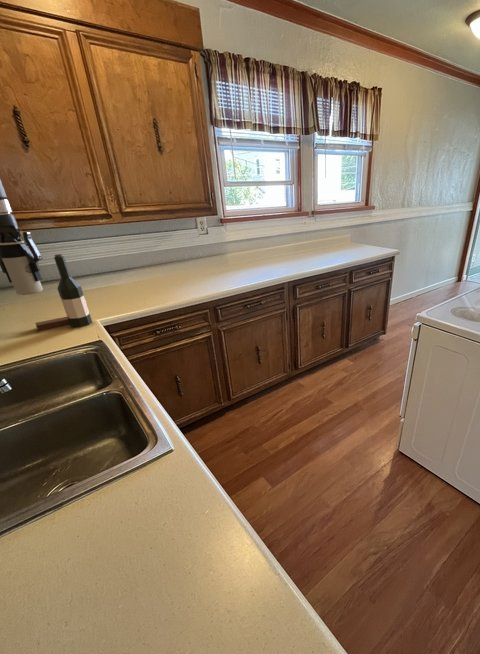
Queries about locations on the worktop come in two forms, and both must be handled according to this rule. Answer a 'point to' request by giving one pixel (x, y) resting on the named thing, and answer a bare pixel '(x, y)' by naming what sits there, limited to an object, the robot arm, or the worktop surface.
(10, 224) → the robot arm
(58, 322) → the granola bar
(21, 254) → the travel mug
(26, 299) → the worktop surface
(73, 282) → the wine bottle
